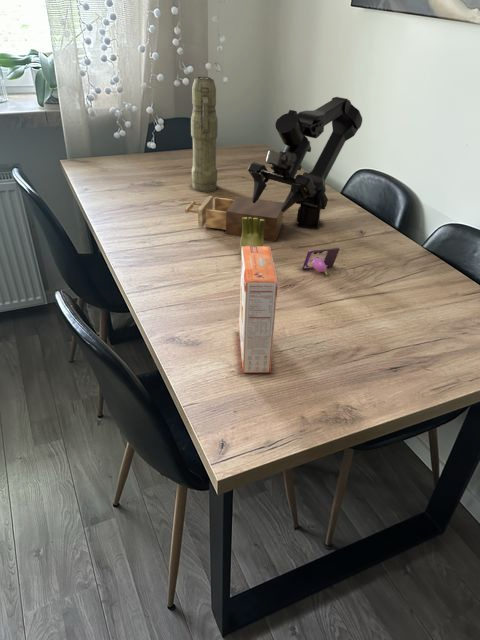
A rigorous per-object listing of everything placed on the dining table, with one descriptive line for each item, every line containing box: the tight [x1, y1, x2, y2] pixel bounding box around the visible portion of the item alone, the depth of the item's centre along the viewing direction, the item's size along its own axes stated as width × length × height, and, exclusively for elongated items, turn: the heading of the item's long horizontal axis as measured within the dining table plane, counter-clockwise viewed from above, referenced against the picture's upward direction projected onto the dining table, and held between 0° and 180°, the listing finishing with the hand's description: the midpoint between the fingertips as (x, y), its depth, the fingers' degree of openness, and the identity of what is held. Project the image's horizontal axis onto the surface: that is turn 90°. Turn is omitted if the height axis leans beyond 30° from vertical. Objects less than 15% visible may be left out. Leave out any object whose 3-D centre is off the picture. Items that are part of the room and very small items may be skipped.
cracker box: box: [238, 246, 279, 374], centre depth 98 cm, size 14×6×21 cm, turn 5°
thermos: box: [190, 76, 219, 193], centre depth 171 cm, size 9×12×35 cm
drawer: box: [184, 195, 234, 231], centre depth 154 cm, size 19×12×6 cm, turn 79°
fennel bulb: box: [239, 217, 265, 256], centre depth 135 cm, size 6×5×12 cm
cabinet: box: [225, 195, 284, 242], centre depth 153 cm, size 15×13×7 cm
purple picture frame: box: [301, 247, 340, 276], centre depth 133 cm, size 7×5×9 cm
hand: (267, 206), depth 135 cm, fingers open, 9 cm apart
